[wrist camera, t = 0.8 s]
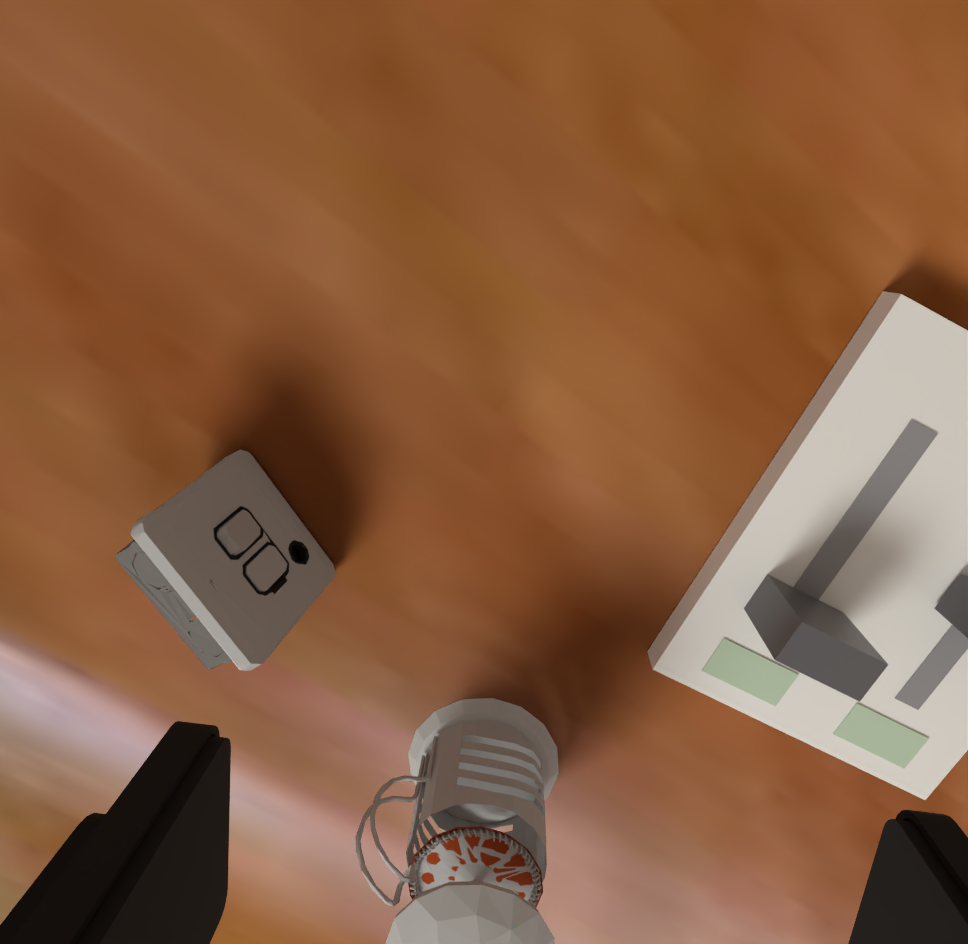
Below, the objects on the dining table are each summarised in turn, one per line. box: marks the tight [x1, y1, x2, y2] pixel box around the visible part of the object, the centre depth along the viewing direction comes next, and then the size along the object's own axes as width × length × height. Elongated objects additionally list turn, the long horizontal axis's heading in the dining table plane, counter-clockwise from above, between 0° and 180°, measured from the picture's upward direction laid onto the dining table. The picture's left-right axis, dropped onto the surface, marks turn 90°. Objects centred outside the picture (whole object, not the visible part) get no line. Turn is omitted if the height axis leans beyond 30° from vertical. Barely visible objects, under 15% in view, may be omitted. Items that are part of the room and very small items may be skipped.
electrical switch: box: [115, 450, 335, 670], centre depth 41 cm, size 9×5×9 cm, turn 33°
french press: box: [356, 698, 559, 944], centre depth 37 cm, size 10×12×25 cm
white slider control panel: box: [647, 291, 968, 800], centre depth 40 cm, size 24×19×8 cm
